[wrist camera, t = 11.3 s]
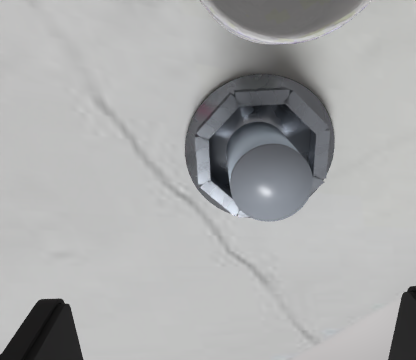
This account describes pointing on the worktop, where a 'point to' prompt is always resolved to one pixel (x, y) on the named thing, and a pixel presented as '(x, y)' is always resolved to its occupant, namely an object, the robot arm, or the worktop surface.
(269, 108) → the faceted metallic bowl
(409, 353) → the robot arm
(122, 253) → the worktop surface
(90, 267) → the worktop surface
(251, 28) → the teacup
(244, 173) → the grey domed cylinder
